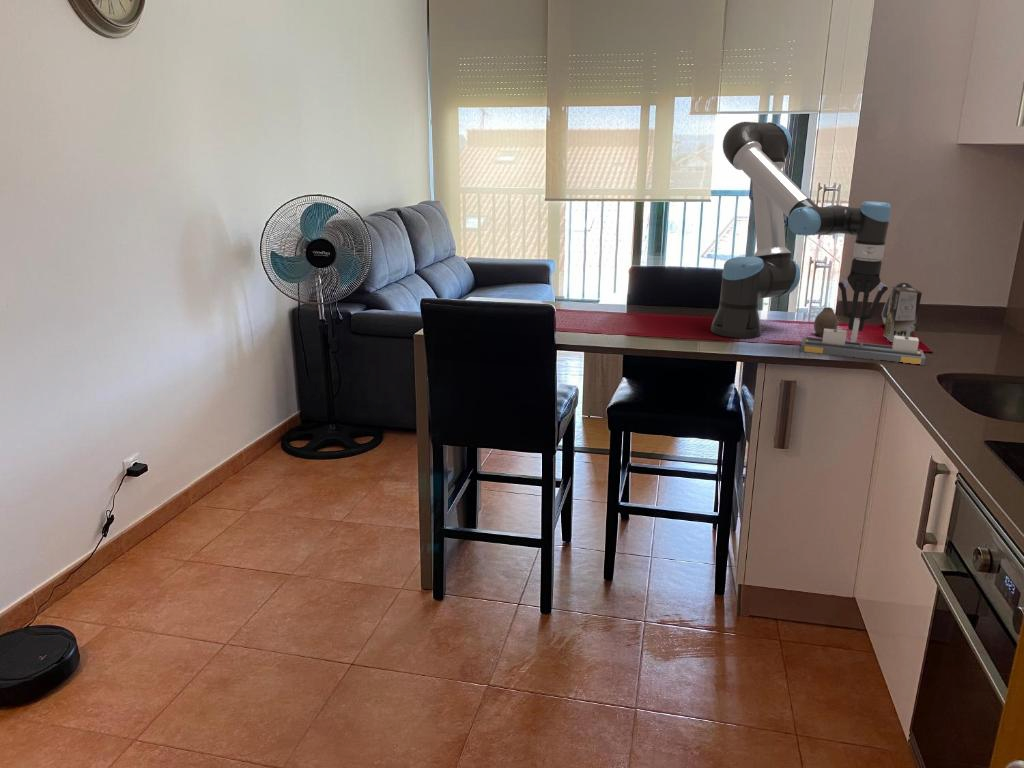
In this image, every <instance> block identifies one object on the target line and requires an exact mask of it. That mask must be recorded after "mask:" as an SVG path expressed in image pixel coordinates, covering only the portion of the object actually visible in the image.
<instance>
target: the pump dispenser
mask: <svg viewBox="0 0 1024 768" xmlns="http://www.w3.org/2000/svg"><path fill="white" fill-rule="evenodd" d="M894 287H909V288H914V287H913V286H912V285H911V284H910V283H908V282H904V281H903V282H899V283H897V284H895V286H894ZM889 299H890V294H888V296H887V299H886V301H885V303H884V306H883V308H882V311H881V317H882V322H883V324H884V325H885V323H886V317H887V311H888V305H889Z"/></svg>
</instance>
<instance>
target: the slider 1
mask: <svg viewBox="0 0 1024 768" xmlns="http://www.w3.org/2000/svg"><path fill="white" fill-rule="evenodd" d="M822 339H823V340H822V343H826V344H836V345H845V341H847V340H846V339H847V330H845V329H838V328H837V329H826V328H824V333H823V336H822Z"/></svg>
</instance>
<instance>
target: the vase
mask: <svg viewBox="0 0 1024 768" xmlns="http://www.w3.org/2000/svg"><path fill="white" fill-rule="evenodd" d="M814 319H815V320H814V321H813V329H814V332H815V334H816V335H817V336H819V337H823V333H824V328H826V329H837V330H838V327H839V320H838V317H837V315H836V313H835V312H834V309H833V308H832V307H827V306H826V307H823V309H822V310H821V311H820V312H819V313H818V314H817V316H816V317H815V318H814Z"/></svg>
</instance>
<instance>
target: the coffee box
mask: <svg viewBox="0 0 1024 768" xmlns="http://www.w3.org/2000/svg"><path fill="white" fill-rule="evenodd" d="M890 288H891V289H890V293H889V295H890V299H889V305H888V311H887V317H886V323H885V324H884V330H883V336H884V337H886V338H887V339H888V340H889V341H890V342H893V339H894V335H895V336H908V337H915V336H914V335H915V330H916V325H917V320H918V314H919V310H920V305H921V299H922V295H923V292H921V291H919V290H917V288H914V287H913V288H909V287H895V286H891V287H890ZM884 337H883V338H884ZM888 340H887V341H888ZM889 341H888V342H889ZM890 342H889V343H890Z"/></svg>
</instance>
